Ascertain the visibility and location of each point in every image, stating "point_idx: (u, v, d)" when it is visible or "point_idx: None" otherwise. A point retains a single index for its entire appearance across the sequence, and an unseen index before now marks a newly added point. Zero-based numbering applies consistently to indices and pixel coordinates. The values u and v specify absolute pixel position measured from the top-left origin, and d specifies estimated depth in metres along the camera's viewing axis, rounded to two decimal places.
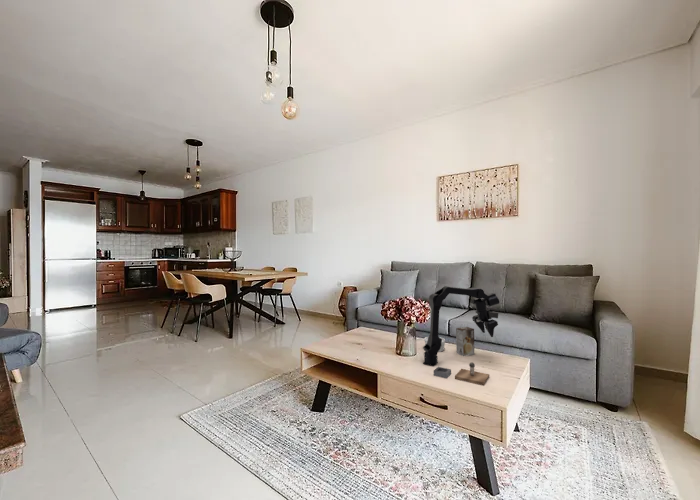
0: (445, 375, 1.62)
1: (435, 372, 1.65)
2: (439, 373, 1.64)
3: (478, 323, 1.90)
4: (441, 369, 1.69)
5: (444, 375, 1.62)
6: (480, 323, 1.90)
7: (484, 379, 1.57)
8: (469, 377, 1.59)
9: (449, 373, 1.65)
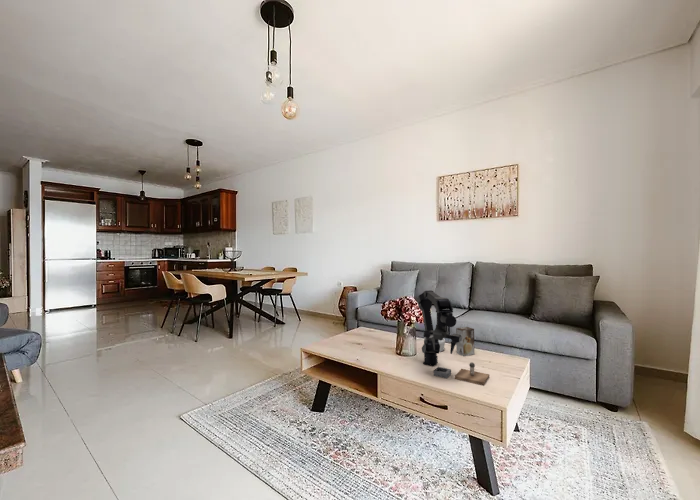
0: (445, 375, 1.62)
1: (435, 372, 1.65)
2: (439, 373, 1.64)
3: None
4: (441, 369, 1.69)
5: (444, 375, 1.62)
6: None
7: (484, 379, 1.57)
8: (469, 377, 1.59)
9: (449, 373, 1.65)
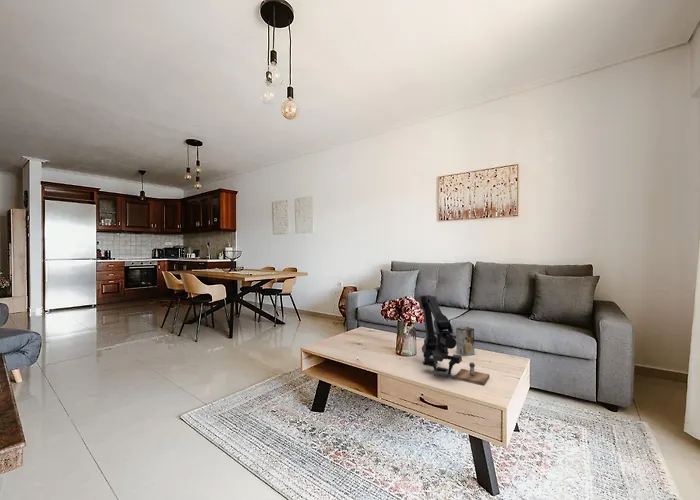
0: (445, 375, 1.62)
1: (435, 372, 1.65)
2: (439, 373, 1.64)
3: None
4: (441, 369, 1.69)
5: (444, 375, 1.62)
6: None
7: (484, 379, 1.57)
8: (469, 377, 1.59)
9: None
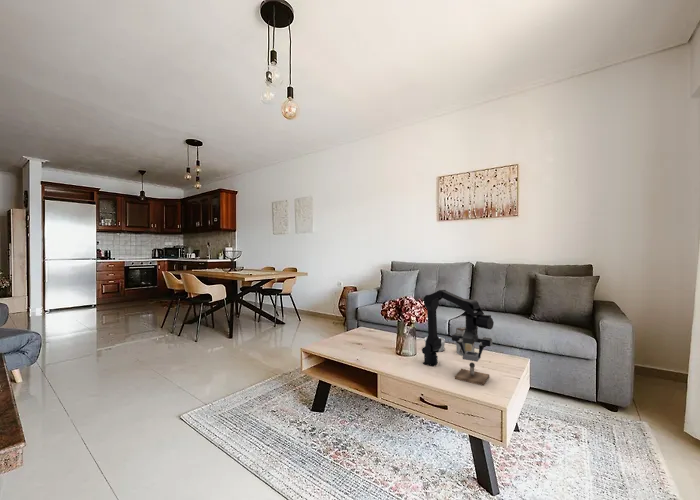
0: (475, 358, 1.57)
1: (464, 356, 1.60)
2: (469, 356, 1.59)
3: None
4: (470, 353, 1.64)
5: (474, 358, 1.57)
6: None
7: (484, 379, 1.57)
8: (469, 377, 1.59)
9: None
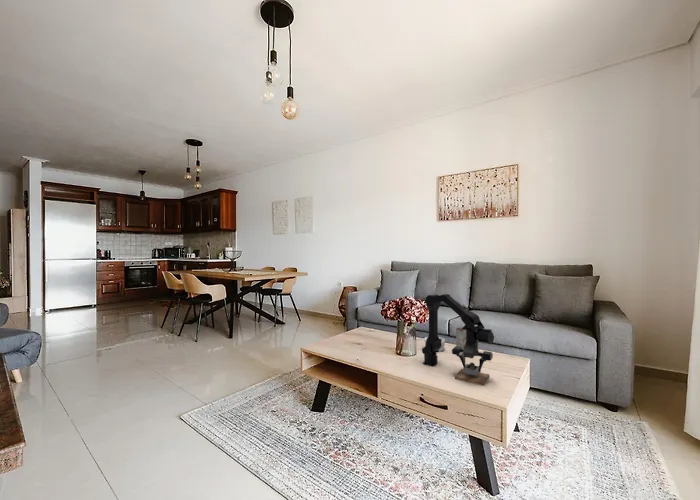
0: (476, 372, 1.57)
1: (465, 369, 1.60)
2: (469, 370, 1.59)
3: None
4: None
5: (474, 372, 1.58)
6: None
7: (484, 379, 1.57)
8: (469, 377, 1.59)
9: None
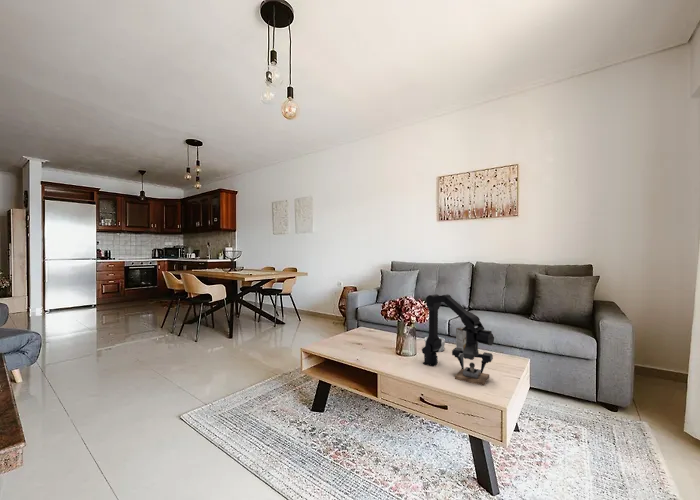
0: (476, 376, 1.57)
1: (465, 373, 1.60)
2: (469, 374, 1.59)
3: None
4: None
5: (474, 376, 1.58)
6: None
7: (484, 379, 1.57)
8: (469, 377, 1.59)
9: (479, 374, 1.60)
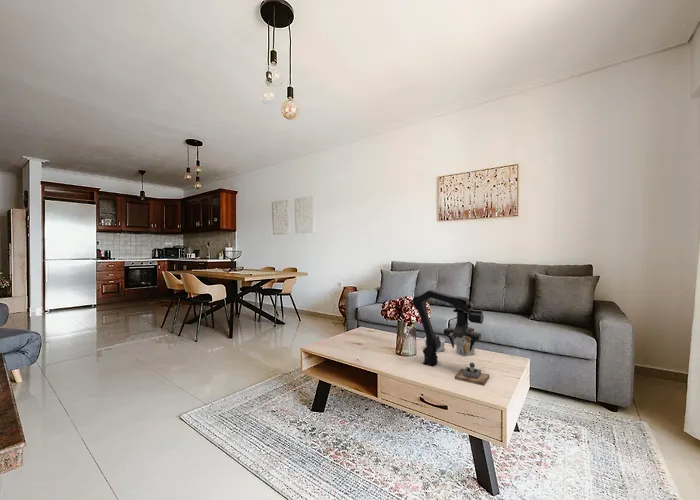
0: (476, 376, 1.57)
1: (465, 373, 1.60)
2: (469, 374, 1.59)
3: None
4: None
5: (474, 376, 1.58)
6: None
7: (484, 379, 1.57)
8: (469, 377, 1.59)
9: (479, 374, 1.60)
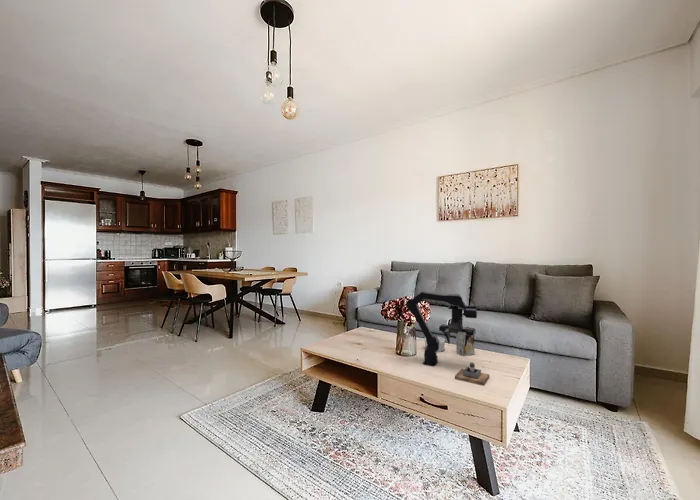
0: (476, 376, 1.57)
1: (465, 373, 1.60)
2: (469, 374, 1.59)
3: None
4: None
5: (474, 376, 1.58)
6: None
7: (484, 379, 1.57)
8: (469, 377, 1.59)
9: (479, 374, 1.60)
